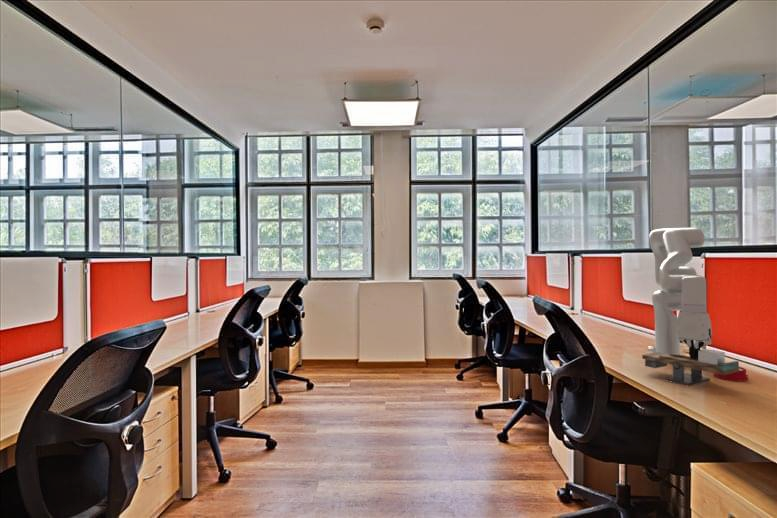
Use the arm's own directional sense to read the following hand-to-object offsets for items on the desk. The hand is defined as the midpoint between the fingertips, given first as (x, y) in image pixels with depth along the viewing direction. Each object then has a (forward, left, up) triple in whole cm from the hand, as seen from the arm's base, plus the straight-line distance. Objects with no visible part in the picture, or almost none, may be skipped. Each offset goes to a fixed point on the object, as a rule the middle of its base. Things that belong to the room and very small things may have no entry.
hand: (694, 358), depth 156 cm
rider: (+5, 0, -1) cm, 6 cm away
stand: (-3, 0, -9) cm, 9 cm away
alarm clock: (+2, +19, -9) cm, 22 cm away
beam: (-3, 0, -6) cm, 6 cm away
